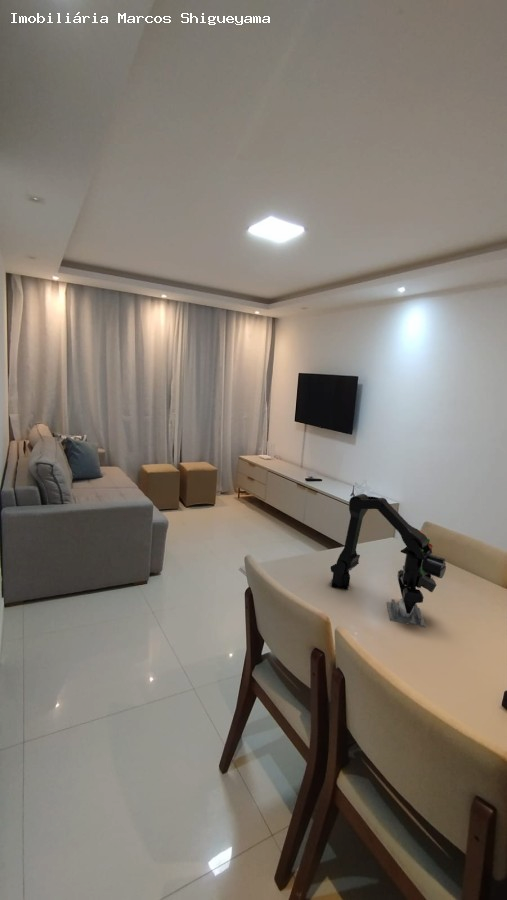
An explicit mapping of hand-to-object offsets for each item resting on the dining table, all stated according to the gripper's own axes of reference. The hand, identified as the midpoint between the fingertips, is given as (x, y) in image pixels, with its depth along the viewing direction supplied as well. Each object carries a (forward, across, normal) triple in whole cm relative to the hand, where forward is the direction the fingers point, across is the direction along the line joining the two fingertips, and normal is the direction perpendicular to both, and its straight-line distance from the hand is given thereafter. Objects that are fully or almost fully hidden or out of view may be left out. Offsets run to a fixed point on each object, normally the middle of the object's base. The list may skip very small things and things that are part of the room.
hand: (406, 606), depth 150 cm
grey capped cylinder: (+3, 0, 0) cm, 3 cm away
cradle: (+3, 0, 0) cm, 3 cm away
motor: (+4, +39, -11) cm, 41 cm away
